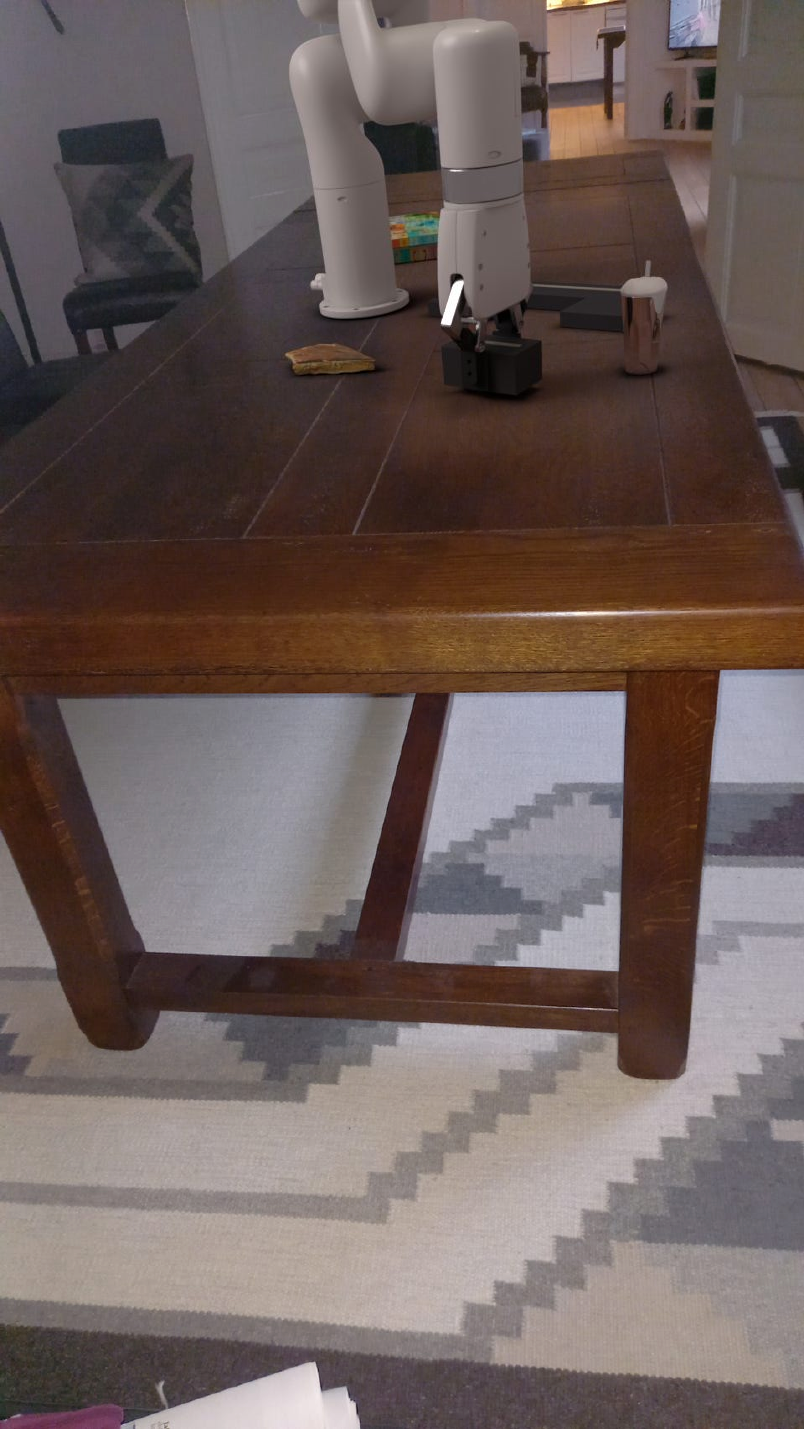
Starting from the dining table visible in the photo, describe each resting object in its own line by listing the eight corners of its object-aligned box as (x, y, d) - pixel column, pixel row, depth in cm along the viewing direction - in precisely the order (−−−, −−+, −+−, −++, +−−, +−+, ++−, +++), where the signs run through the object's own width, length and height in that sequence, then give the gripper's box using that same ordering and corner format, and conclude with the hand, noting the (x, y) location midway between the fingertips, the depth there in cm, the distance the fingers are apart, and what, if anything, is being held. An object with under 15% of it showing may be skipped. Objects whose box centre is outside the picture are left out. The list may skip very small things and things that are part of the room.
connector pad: (444, 385, 103) (440, 345, 101) (471, 370, 106) (468, 331, 104) (516, 395, 98) (514, 354, 96) (542, 379, 101) (541, 339, 99)
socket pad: (428, 316, 130) (427, 300, 129) (481, 291, 138) (480, 277, 136) (631, 333, 114) (632, 316, 113) (679, 304, 121) (680, 288, 120)
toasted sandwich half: (378, 372, 112) (376, 356, 111) (318, 389, 110) (316, 372, 109) (336, 354, 120) (334, 338, 119) (280, 369, 118) (277, 354, 117)
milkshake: (667, 360, 104) (671, 259, 98) (660, 377, 100) (665, 272, 94) (623, 361, 106) (625, 261, 100) (615, 377, 102) (617, 274, 96)
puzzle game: (371, 236, 155) (370, 215, 172) (375, 267, 158) (374, 244, 174) (444, 226, 155) (437, 206, 171) (447, 258, 158) (439, 235, 174)
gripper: (499, 167, 98) (507, 351, 109) (394, 203, 88) (414, 402, 99) (565, 167, 94) (566, 358, 105) (462, 205, 84) (475, 412, 95)
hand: (492, 378), depth 102 cm, fingers closed on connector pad, 5 cm apart
